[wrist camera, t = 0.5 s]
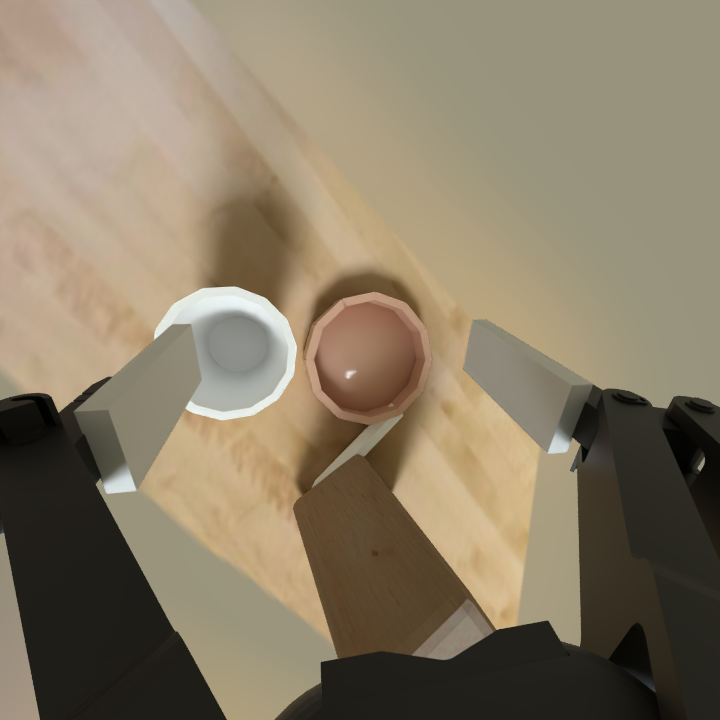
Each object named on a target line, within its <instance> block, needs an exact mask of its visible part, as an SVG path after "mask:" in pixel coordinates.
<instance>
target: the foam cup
mask: <svg viewBox="0 0 720 720" xmlns="http://www.w3.org/2000/svg"><path fill="white" fill-rule="evenodd" d="M172 324H191V326H192V331H193V336H194V341H195V346H196V352H197V357H198V362H199V367H200V372H201V377H202V381H201V382H200V384H199V386H198V388H197V389H196V391H195V393H194V394H193V396H192V398H191V399H190V401H189V403H188V405H187V406H186V409H187V410H188V411H190V412H191V413H195V414H199V415H203V416H207V417H211V418H215V419H219V420H227V419H233V418H239V417H245V416H251V415H254V414H256V413H257V412H259V411H261V410H262V409H264V408H265V407H267V406H268V405H270V404H271V403H273V402H274V401H276V400H278V399H279V397H280V396H281V394H282V392H283V391H284V389H285V388H286V386H287V385H288V383H289V381H290V380H291V378H292V377H293V375H294V367H295V359H296V350H297V346H296V343H295V340H294V337H293V335H292V332H291V329H290V326H289V323H288V320H287V319H286V318H285V317H284V316H283V315H282V314H281V313H280V312H279V311H278V310H277V309H276V308H275V307H274V306H273V305H272V304H271V303H270V302H269V301H268V300H267V299H266V298H264V297H262V296H259V295H257V294H254V293H251V292H249V291H246V290H244V289H241V288H238V287H217V288H202V289H200V290H198V291H197V292H195V293H193V294H191V295H189V296H187V297H185V298H183V299H182V300H180V301H178V302H176V303H174V304H173V305H172V307H171V308H170V309H169V311H168V312H167V314H166V315H165V317H164V318H163V320H162V321H161V323H160V324H159V326H158V327H157V329H156V330H155V336H154V340H155V339H156V338H157V337H158V336H159V335H161V334H162V333H163V332H164V331H165V330H166V329H167V328H168V327H170V326H171V325H172Z"/></svg>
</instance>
